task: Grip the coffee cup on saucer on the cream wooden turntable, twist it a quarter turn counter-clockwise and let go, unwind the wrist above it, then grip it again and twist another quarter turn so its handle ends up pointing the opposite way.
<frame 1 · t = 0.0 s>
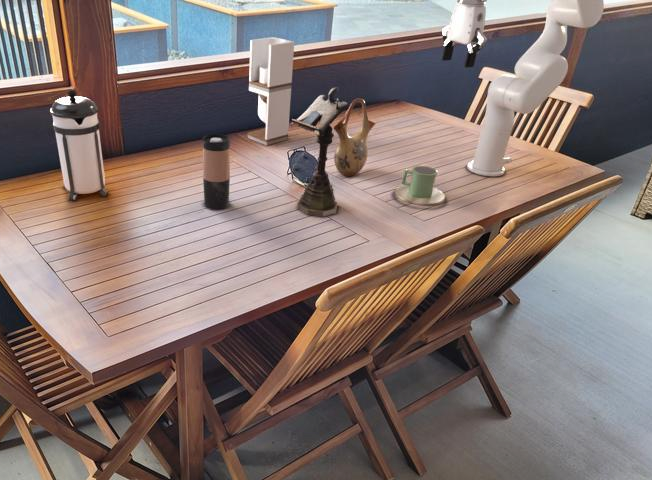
hand: (457, 63, 170), 37 cm above the table, tool pointing down, fingers open, 9 cm apart
travel mug: (216, 205, 168), on the table
white dispenser tower: (267, 139, 220), on the table
coffee cup on saucer: (422, 183, 175), point 5 cm above the table, hinge at 0.0°
coffee press: (84, 190, 174), on the table
ceramic vessel: (348, 174, 193), on the table
ornate book stand: (313, 211, 167), on the table
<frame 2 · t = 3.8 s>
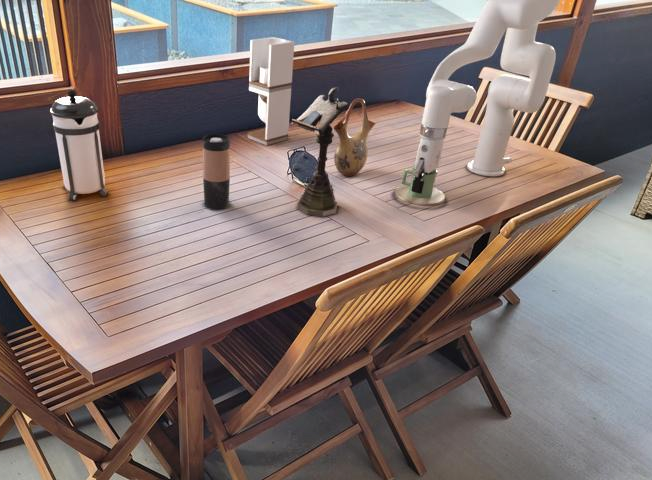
hand: (421, 187, 176), 3 cm above the table, tool pointing down, fingers closed on coffee cup on saucer, 7 cm apart
coffee cup on saucer: (422, 183, 175), point 5 cm above the table, hinge at 0.0°, touching gripper
everything else where it was.
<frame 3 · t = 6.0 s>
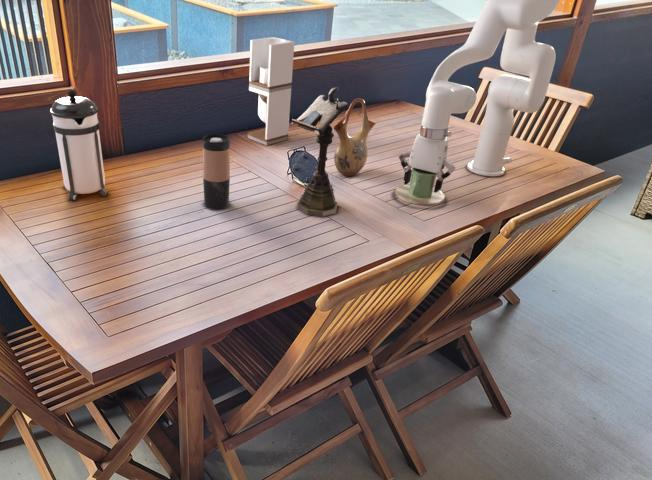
hand: (421, 187, 176), 4 cm above the table, tool pointing down, fingers open, 9 cm apart
coffee cup on saucer: (422, 183, 175), point 5 cm above the table, hinge at 89.8°
everything else where it was.
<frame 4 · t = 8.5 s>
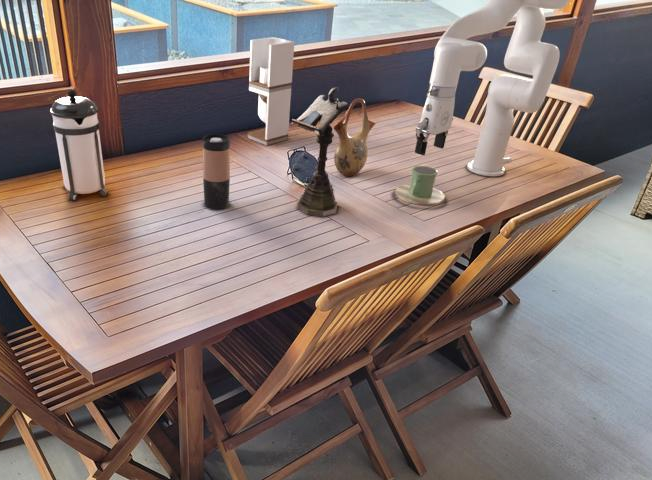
hand: (429, 150, 169), 15 cm above the table, tool pointing down, fingers open, 9 cm apart
nothing on the table moved.
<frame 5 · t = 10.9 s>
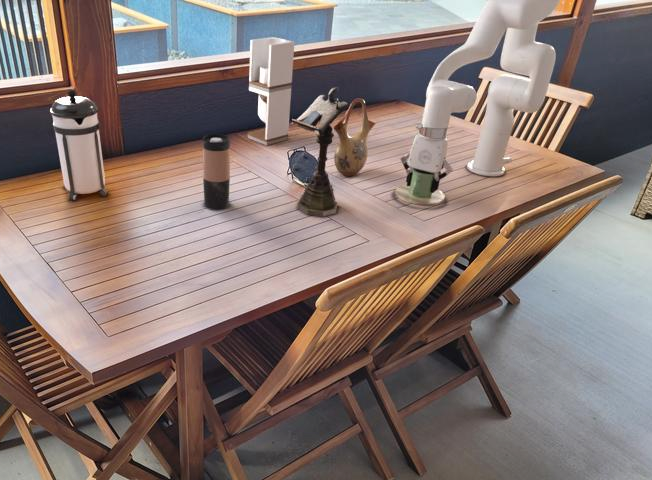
hand: (421, 187, 176), 3 cm above the table, tool pointing down, fingers closed on coffee cup on saucer, 7 cm apart
coffee cup on saucer: (422, 183, 175), point 5 cm above the table, hinge at 89.8°, touching gripper
everything else where it was.
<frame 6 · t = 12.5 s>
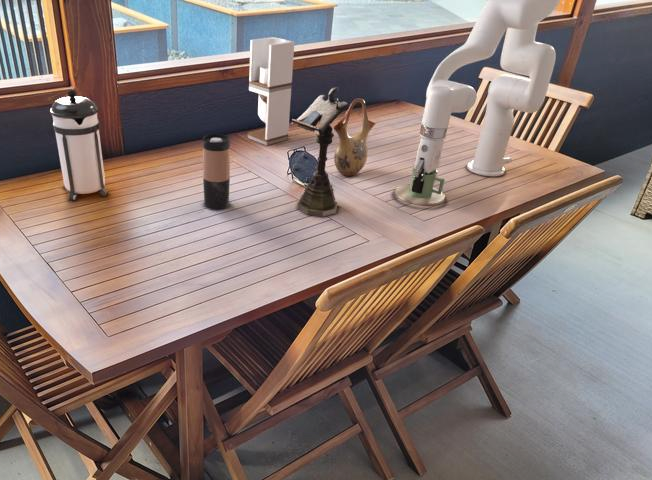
hand: (421, 188, 176), 3 cm above the table, tool pointing down, fingers closed on coffee cup on saucer, 7 cm apart
coffee cup on saucer: (422, 183, 175), point 5 cm above the table, hinge at 179.9°, touching gripper
everything else where it was.
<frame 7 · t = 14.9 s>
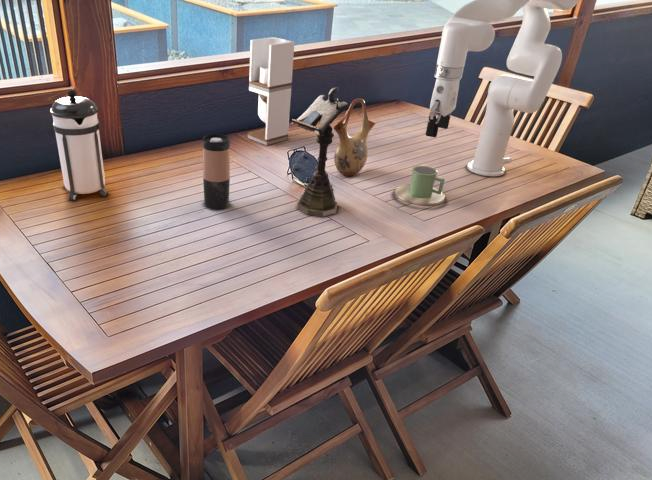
hand: (436, 132, 170), 20 cm above the table, tool pointing down, fingers open, 9 cm apart
coffee cup on saucer: (422, 183, 175), point 5 cm above the table, hinge at 180.0°
everything else where it was.
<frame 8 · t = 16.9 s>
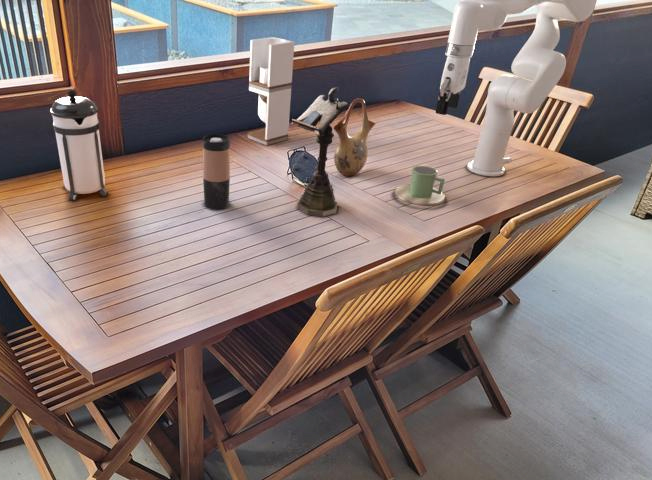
hand: (446, 110, 173), 24 cm above the table, tool pointing down, fingers open, 9 cm apart
nothing on the table moved.
at the end: coffee cup on saucer reached +180° during the clip, +180° at the end; coffee cup on saucer at +180° (first picture: +0°); the gripper is holding nothing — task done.
